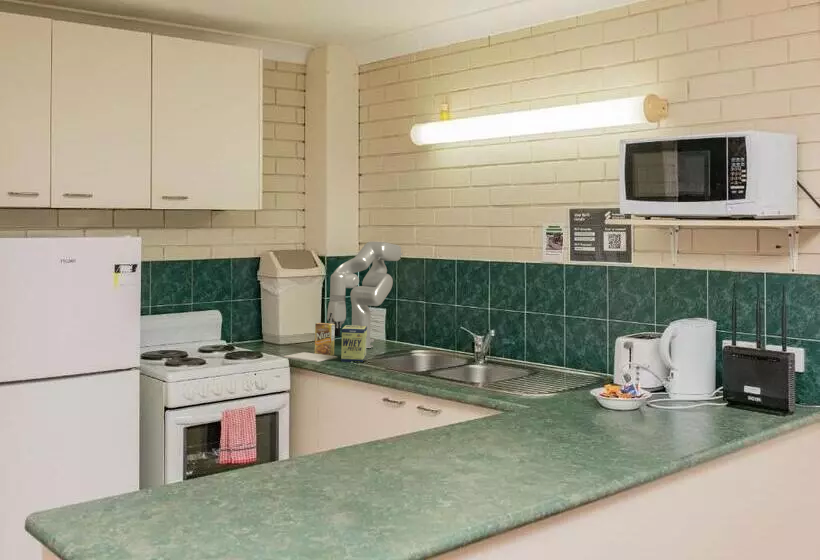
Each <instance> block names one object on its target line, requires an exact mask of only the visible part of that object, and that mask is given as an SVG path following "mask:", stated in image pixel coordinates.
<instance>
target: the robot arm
mask: <svg viewBox="0 0 820 560" xmlns="http://www.w3.org/2000/svg"><path fill="white" fill-rule="evenodd" d="M401 249H402V247H401V246H400V245H399V244H395V243H390V242H385V241H368V242H366V243H365V244H364V245H363V246H362V248H361V249H359V251H358V253H356V255H355V256H354V257H353V258H350V259H348V260H347V261H345V262H343V263H342V264H340V265H339V266H338V267H337V268H336V269H335V270H334V271H333V273H332V274H331V275H330V282H329V283H330V287H329V289H330V290H329V292H330V293H329V302H328V305H327V315H326V320H327V322H328V323H330V324H335V337H340V336H341V328H342V325H343V324H345V321H346V318H347V308H346V307H347V306H346V289H351V291H350V302H351V325H358V326H367V344H366V348H371V347H374V345H373V344H371V343H374V342H375V338H371V318H372V317H371V315H372V314H371V310H370V307H369V306H371V307H378V306H380V305H382V304H383V303H384V301H385V300H386V298H387V296H388V295H389V293H390V292H391V290H392V287H393V284H394V283H393V281H394V280H393V277H392V276H391V274H389V273H387V272H388V269H387V268H388V267H387V266H386V264H385V261H387V262H389V261H390V262H398V261H399V260H401V258H402V257H401V255H402V256H403V252H402V253H401ZM400 257H401V258H400ZM371 264H372V265H371ZM369 267H370V269H369V270H368V272H367V273H366V274H365V276H364V277H363V280H362V281H361V282H362V284H361V285H359V283H360V278H359V276H358V275H357V274H355V273H359V272H363V271H365V270H367V269H368V268H369ZM371 349H372V348H371Z"/></svg>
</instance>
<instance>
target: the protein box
mask: <svg viewBox="0 0 820 560" xmlns="http://www.w3.org/2000/svg"><path fill="white" fill-rule="evenodd" d="M341 328H342V329H341V347H340V348H341V351H340V356H341V357H340V358H341V359H340V361H341V362H342V363H352V362H351V361H360V362H363V360H364V358H365V357H366V358H367V349H366V344H367V326H358V325H352V324H351V325H350V324H346V325H344V326H343V327H341ZM364 361H365V360H364ZM363 363H364V362H363Z"/></svg>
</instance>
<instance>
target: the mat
mask: <svg viewBox="0 0 820 560" xmlns="http://www.w3.org/2000/svg"><path fill="white" fill-rule="evenodd" d="M282 357H283V358H286V359H292V360H293V359H294V360H301V361H308V362H315V363H318V362H319V363H320V362H322V361H324V362H325V361H328V360H334V359H338V356H337V355H332V356H330V355H322V354H315V352H305V351H303V352H298V353H293V354H288V355H283V356H282Z"/></svg>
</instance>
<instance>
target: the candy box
mask: <svg viewBox="0 0 820 560" xmlns="http://www.w3.org/2000/svg"><path fill="white" fill-rule="evenodd" d="M314 327H315V328H314V329H315V330H314V353H315V354H322V355H330V356H335V339H336V336H335V324H330V322H328V323H327V322H315V326H314Z"/></svg>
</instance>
